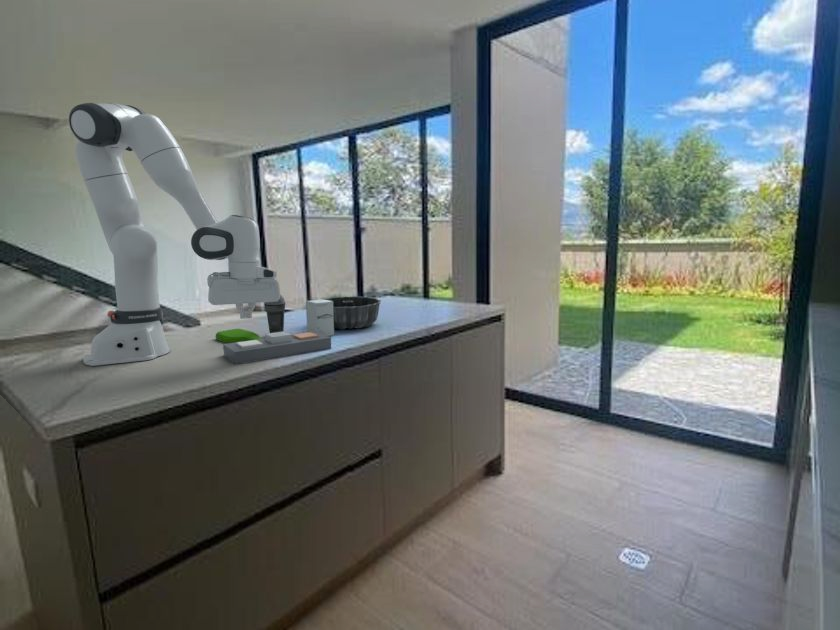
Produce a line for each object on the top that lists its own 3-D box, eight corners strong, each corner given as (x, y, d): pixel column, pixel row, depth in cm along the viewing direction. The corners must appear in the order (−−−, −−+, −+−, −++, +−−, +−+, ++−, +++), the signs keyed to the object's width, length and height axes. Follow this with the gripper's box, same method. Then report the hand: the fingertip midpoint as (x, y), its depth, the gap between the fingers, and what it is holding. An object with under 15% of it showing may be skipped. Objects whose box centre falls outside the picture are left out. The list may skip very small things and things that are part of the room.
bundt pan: (371, 333, 175) (371, 306, 173) (304, 331, 179) (303, 305, 177) (387, 320, 201) (387, 297, 199) (328, 318, 205) (327, 295, 203)
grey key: (272, 346, 144) (272, 337, 143) (265, 343, 148) (265, 333, 148) (291, 343, 147) (291, 334, 147) (284, 340, 152) (283, 331, 151)
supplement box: (316, 338, 167) (314, 302, 164) (306, 334, 172) (305, 300, 170) (334, 335, 171) (333, 301, 169) (324, 332, 177) (323, 298, 175)
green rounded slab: (241, 335, 174) (279, 346, 158) (212, 340, 165) (249, 353, 150) (241, 327, 173) (279, 338, 157) (211, 332, 165) (249, 344, 149)
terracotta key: (301, 347, 149) (300, 337, 149) (293, 343, 154) (292, 334, 153) (318, 344, 153) (318, 335, 152) (310, 340, 158) (310, 332, 157)
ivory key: (243, 356, 139) (242, 346, 138) (236, 352, 143) (236, 342, 143) (263, 353, 142) (262, 343, 142) (256, 349, 147) (256, 339, 146)
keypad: (236, 363, 135) (235, 352, 134) (223, 355, 144) (223, 344, 143) (331, 348, 153) (330, 337, 152) (315, 341, 162) (314, 331, 161)
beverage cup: (274, 338, 166) (271, 282, 163) (262, 336, 170) (258, 280, 167) (291, 335, 172) (288, 280, 168) (279, 332, 176) (276, 279, 173)
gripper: (210, 273, 130) (212, 322, 132) (281, 271, 143) (282, 317, 145) (204, 271, 135) (206, 319, 137) (273, 270, 148) (274, 314, 150)
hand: (245, 318), depth 141 cm, fingers closed
